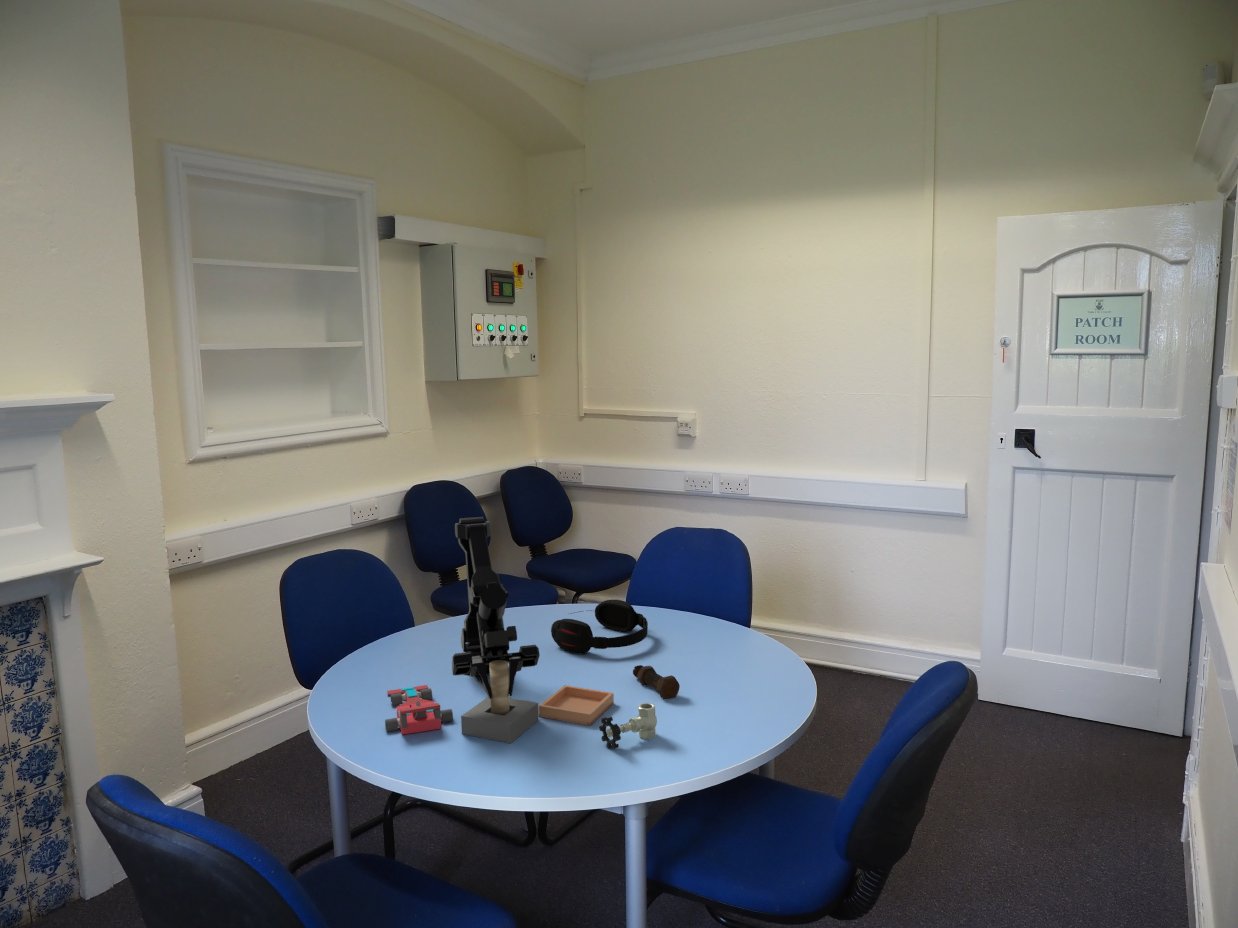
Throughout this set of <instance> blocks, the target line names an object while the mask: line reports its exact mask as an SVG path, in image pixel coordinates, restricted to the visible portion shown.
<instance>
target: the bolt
mask: <svg viewBox="0 0 1238 928" xmlns="http://www.w3.org/2000/svg"><path fill="white" fill-rule="evenodd" d="M633 668H634V669H632V674H633V676H634V677H635V678H637V680H638V681H639V683H640V685H642V686H644V685H646V686H651V687H652V688H654V689H655V690H656V691H657V693H658V694H659V696H660V698H661V699H662V698H663V700H664V699H666V700H671V699H674V698H676V697H677V696H678V693H679V691H680V686H681V684H680V683H679V682H678V680H677V678H676V677H675V676H674V675H668V676H667V675H666V676H664V677H663V676H662V675H660V674H659V673H657V672H656V670H655V669H654V667H653V666H652V665H645V666H644V665H635V666H634V667H633Z"/></svg>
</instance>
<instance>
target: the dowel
mask: <svg viewBox="0 0 1238 928" xmlns="http://www.w3.org/2000/svg"><path fill="white" fill-rule="evenodd" d="M508 667H509V663H508V662H507V661H505V660H496V661H492V662H490V663H489V669H490V673H489V684H490V688H491V696H492V697H491V713H493V714H498V715H506V714H507V713H508V712H510V706H509V698H510V695H509V674H508Z"/></svg>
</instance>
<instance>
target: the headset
mask: <svg viewBox="0 0 1238 928" xmlns="http://www.w3.org/2000/svg"><path fill="white" fill-rule="evenodd" d="M581 612H583V610H582V611H581V610H580V611H576V612H574V614H575V613H581ZM587 612H592V610H587ZM571 614H573V612H570V613H569V615H571ZM594 616H595V619H596V620H597V622H598V623H599V624H600V625H601V626H602V627H604V628H607V629H608V630H611V631H614V632H619V633H623V634H624V633H628V634H626V635H620V636H615V637H614V636H613V637H606V636H594V634H593V630H592V628H591V626H590V625H589V624H588V623H587V622H584V621H581V620H577V619H573V618H563V619H558V620H555V621H554V622H553V623H552V624H551V627H550V633H551V638H552V639H553V641H554V643H556V645H558V647H559V648H560V649H561V650H563V651H564V652H566V653H571V654H575V655H576V654H577V655H585V654H586V653H588V652H589V651H590V650H591V648H594V649H595V650H597V649H598V650H605V649H612V648H623V647H624V648H625V647H629V646H634V645H636V644H638V643H640V642H643V641H644V640H645V639H646V638H647V636H648V633H649V632H648V631H649V629H648V628H649V627H648V623H649V622H648V620H647V618H646V617H645V616H644V615H643V614H641V613H638V612H636V610H635V609H634V607H633V606H632V604H631V603H629V602H627V601H624V600H621V599H606V600H604V601H601V602H600V603H598V604H597V605H596V607H595V609H594ZM637 626H639V627H640V628H641V629H639V630H636V631H635V632H632V631H633V630H634V629H635V628H637ZM630 632H632V633H630Z"/></svg>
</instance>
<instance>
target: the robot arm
mask: <svg viewBox="0 0 1238 928" xmlns="http://www.w3.org/2000/svg"><path fill="white" fill-rule="evenodd" d="M491 533H492V532H491V521H489V520H485V518H484V516H479V517H464V518H459V521H458V522H456V523H455V524H454V534H455V537H456V539H457V542H458V544H459V546H460V548H461V549H462V550H463V552H464V555H465V564H466V565H465V566H466V567H465V568H466V580H467V581H466V583H467V597H468V613H467V615H466V617H465V619H464V620H463V628H462V629H461V634H460V635H461V636H460V643H461V644H460V645H461V649H462V651H463V652H458V653H456V652H455V653H454V654H453V656H452V660H451V671H452V675H453V676H462V675H463V676H464V675H469V676H470V677H471V678H475V679H476V680H477V682H478V683H479V684H480V685H481V686H482V688H483V690H484V692H485V693H486V696H487V697H489V699H491V697H492V696H491V688H490V679H489V677H488V675H490V669H489V663H490V662H492V661H496V660H505V661H507V662H508V674H509V697H512V695H513V690H514V683H515V678H516V675H517V672H520V671H522V668H530V667H531V668H532V667H535V666H537V665H538V664H539V663H538V662H539V659H540V655H541V654H540V648H539V647H538V646H537V645H536V644H528V645H527V644H526V645H520V646H519V650H518V651H516V652H508V651H510V642H516V641H517V640H518V632H517V628H516V627H517V626H516V625H511V626H507V627H506V629H505V623H504V615H505V611H506V606H507V601H508V598H509V591H507V589H506V588H505V586H504V584H503V583H501V582H500V581H501V580H500V577H499V574H498V573H496V571H495V570H493V568H492V563H491V557H490V556H491V555H490V550H489V545H488V538H489V537H491V535H492V534H491Z"/></svg>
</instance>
